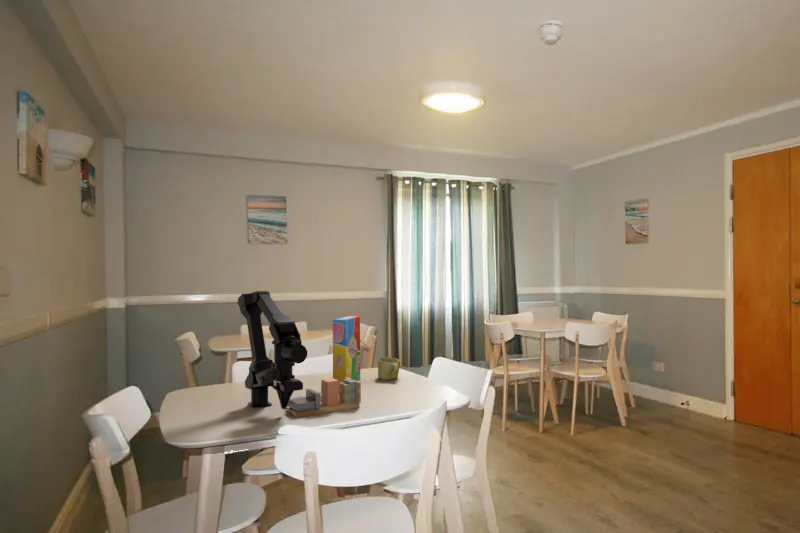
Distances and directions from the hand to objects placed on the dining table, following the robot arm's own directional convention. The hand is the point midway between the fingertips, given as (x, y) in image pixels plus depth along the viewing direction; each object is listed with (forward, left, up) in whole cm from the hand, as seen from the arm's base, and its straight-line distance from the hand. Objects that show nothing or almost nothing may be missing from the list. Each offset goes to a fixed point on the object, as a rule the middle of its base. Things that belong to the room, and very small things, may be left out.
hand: (283, 408), depth 161 cm
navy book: (-8, +8, -2) cm, 12 cm away
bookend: (0, +7, -1) cm, 7 cm away
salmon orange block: (0, +16, -1) cm, 16 cm away
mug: (-28, +58, -2) cm, 64 cm away
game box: (-29, +38, -2) cm, 48 cm away
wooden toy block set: (0, +14, -2) cm, 14 cm away
